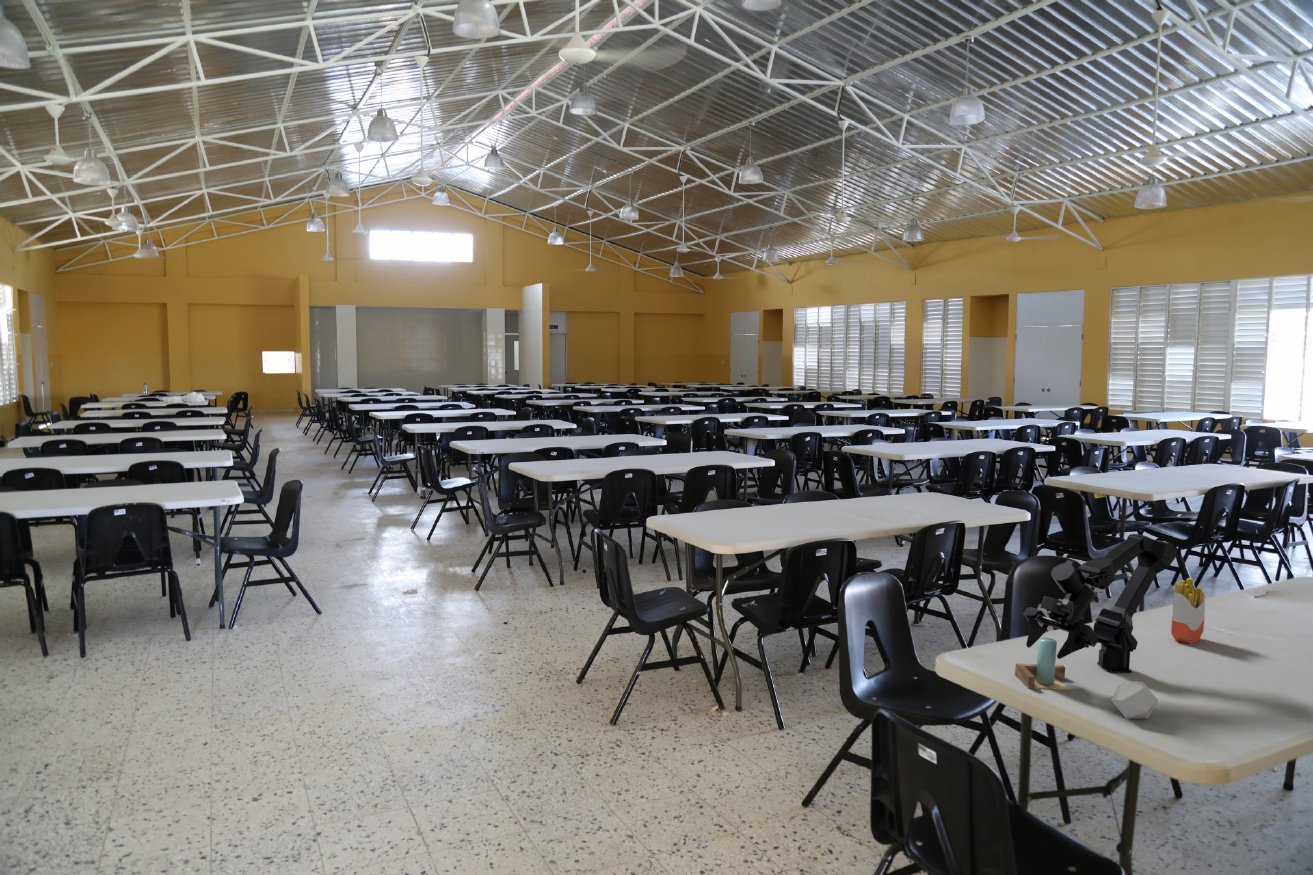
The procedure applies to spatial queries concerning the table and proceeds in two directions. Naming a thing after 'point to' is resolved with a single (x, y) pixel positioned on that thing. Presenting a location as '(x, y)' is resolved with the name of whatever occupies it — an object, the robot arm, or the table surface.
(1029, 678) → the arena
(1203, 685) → the table surface
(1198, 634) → the french fries container
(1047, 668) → the cylindrical block
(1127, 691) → the die
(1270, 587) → the table surface
